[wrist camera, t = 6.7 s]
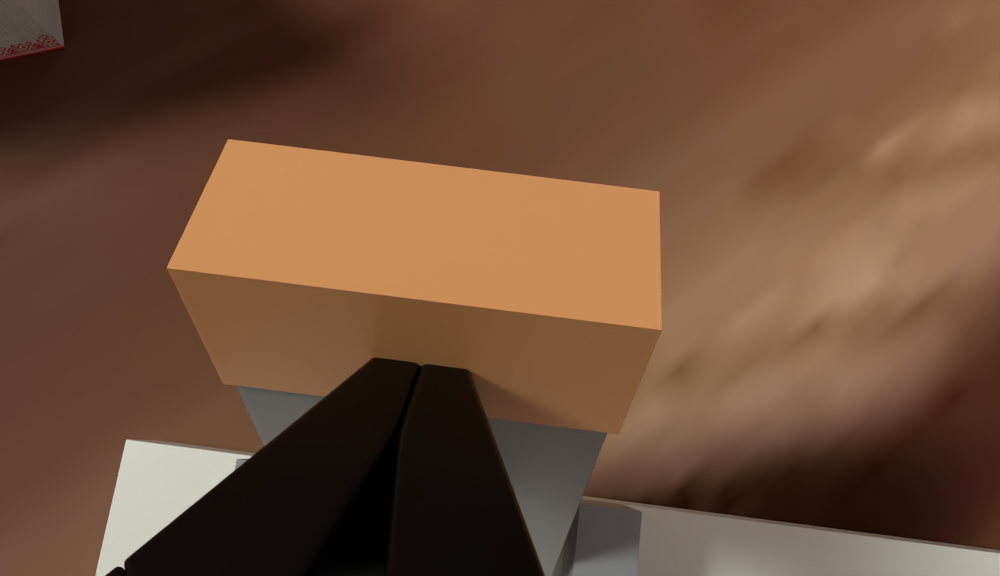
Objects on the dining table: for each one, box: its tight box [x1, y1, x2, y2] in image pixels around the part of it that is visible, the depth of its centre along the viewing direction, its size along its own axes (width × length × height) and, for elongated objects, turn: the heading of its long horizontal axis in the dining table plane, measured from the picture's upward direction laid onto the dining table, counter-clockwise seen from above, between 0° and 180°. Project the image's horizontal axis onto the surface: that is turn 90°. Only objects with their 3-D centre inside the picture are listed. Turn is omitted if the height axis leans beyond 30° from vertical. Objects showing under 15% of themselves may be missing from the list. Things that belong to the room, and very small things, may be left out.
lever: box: [167, 139, 662, 576], centre depth 10 cm, size 2×4×8 cm, turn 81°
